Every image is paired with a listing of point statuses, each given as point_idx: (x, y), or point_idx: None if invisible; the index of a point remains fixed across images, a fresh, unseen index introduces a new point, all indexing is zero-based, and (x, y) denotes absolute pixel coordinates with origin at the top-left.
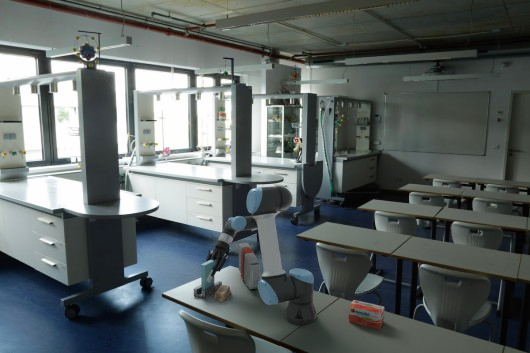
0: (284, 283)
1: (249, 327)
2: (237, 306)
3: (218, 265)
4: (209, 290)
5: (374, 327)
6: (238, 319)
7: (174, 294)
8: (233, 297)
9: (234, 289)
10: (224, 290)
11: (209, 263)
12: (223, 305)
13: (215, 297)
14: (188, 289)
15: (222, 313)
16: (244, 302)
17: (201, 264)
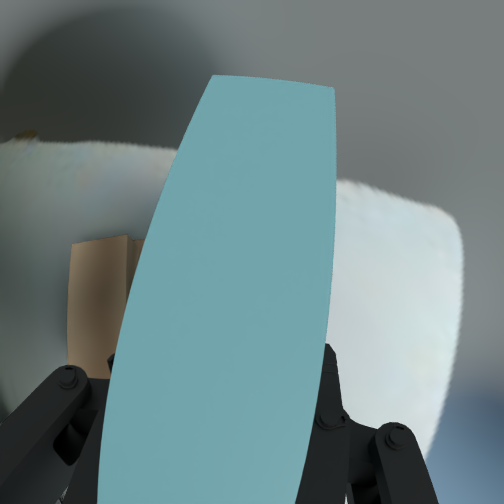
0: None
1: (7, 146)
2: (30, 243)
3: (39, 432)
4: None
5: None
6: (28, 161)
7: (425, 228)
8: (61, 331)
9: None
10: (77, 296)
11: (148, 264)
12: (87, 223)
13: (133, 240)
14: (405, 323)
15: (81, 163)
16: (10, 293)
17: (323, 89)
